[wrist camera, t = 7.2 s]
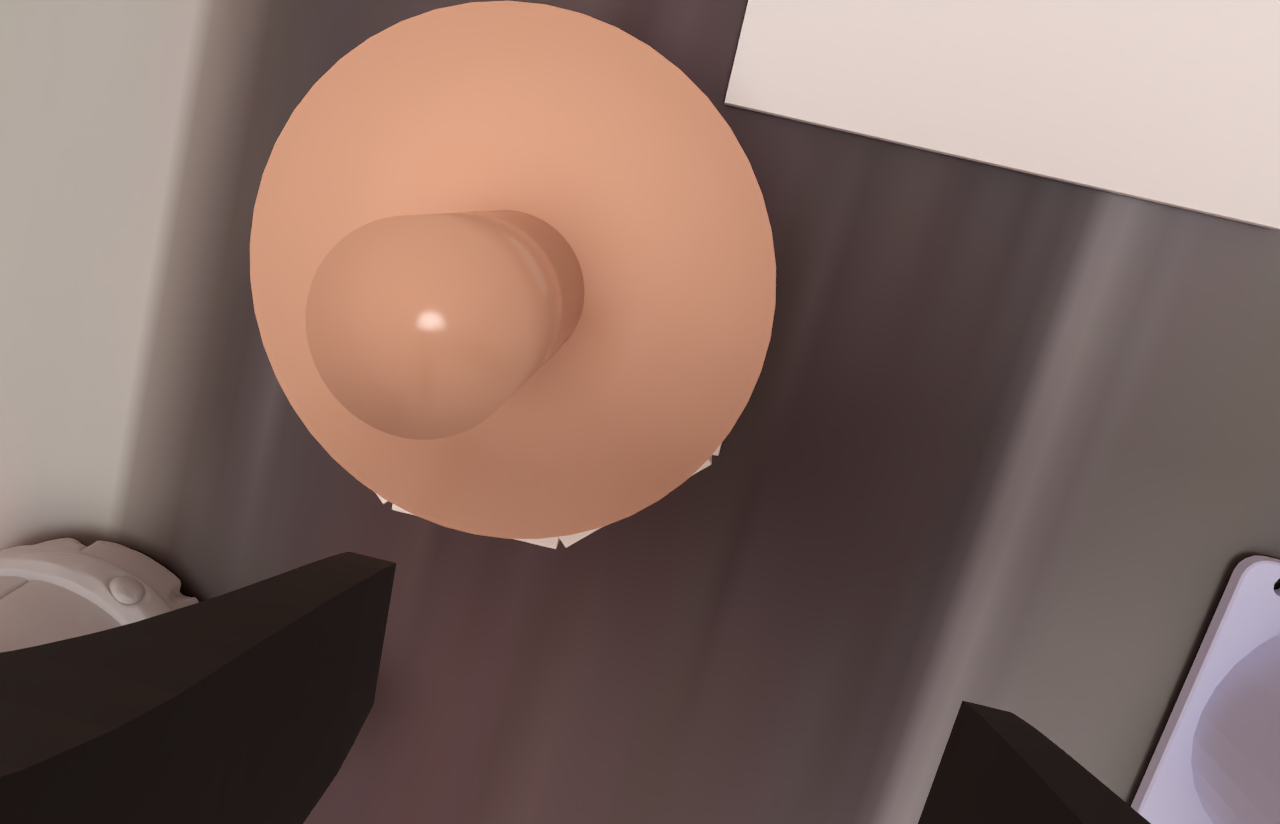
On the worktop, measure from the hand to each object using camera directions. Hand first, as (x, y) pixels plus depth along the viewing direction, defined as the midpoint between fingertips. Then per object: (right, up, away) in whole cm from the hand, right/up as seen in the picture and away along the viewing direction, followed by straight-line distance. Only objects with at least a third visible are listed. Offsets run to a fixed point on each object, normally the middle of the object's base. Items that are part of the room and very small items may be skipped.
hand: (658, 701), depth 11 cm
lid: (-3, +6, +6) cm, 9 cm away
